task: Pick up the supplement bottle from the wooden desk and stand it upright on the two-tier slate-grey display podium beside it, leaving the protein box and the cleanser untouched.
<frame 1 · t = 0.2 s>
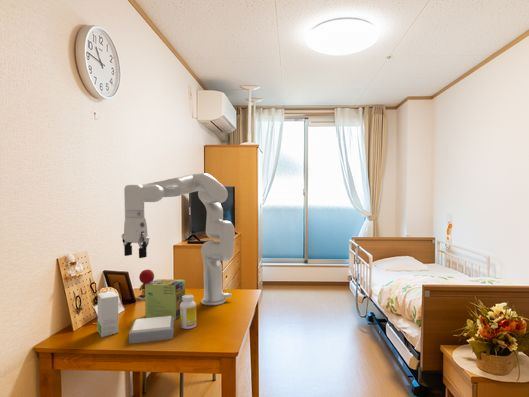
hand: (135, 256, 136), 31 cm above the table, tool pointing down, fingers open, 9 cm apart
figurine: (146, 297, 183), on the table
supplement bottle: (188, 326, 141), on the table
skincare box: (108, 332, 136), on the table
protein box: (166, 315, 155), on the table
display podium: (152, 333, 133), on the table
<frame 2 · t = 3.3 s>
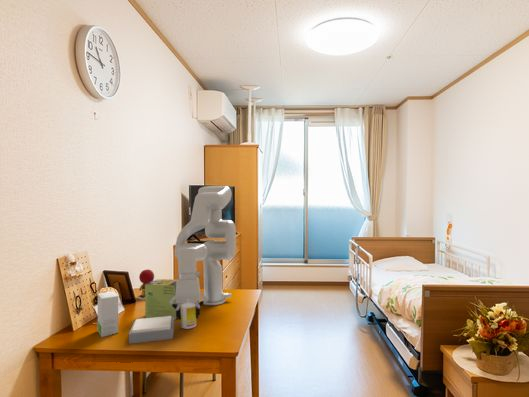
hand: (188, 317, 140), 4 cm above the table, tool pointing down, fingers closed on supplement bottle, 6 cm apart
supplement bottle: (188, 326, 141), on the table, touching gripper
everything else where it was.
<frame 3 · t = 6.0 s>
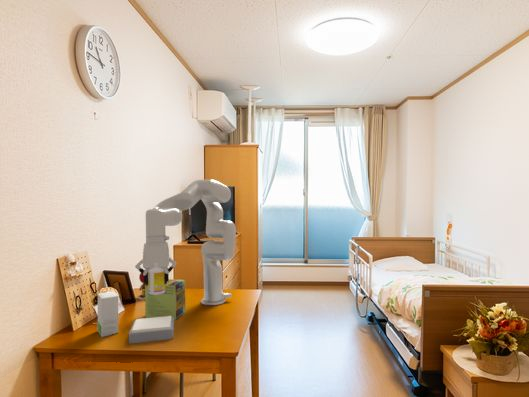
hand: (156, 283, 134), 20 cm above the table, tool pointing down, fingers closed on supplement bottle, 6 cm apart
supplement bottle: (156, 293, 134), point 16 cm above the table, touching gripper
everything else where it was.
when the fingers open (9 cm above the table, at t = 8.6 s): supplement bottle drops 1 cm, resting on display podium.
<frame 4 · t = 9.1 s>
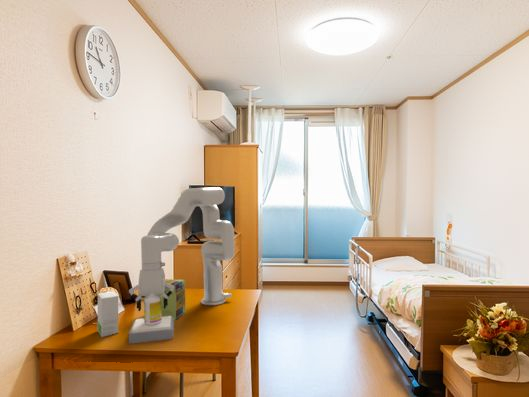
hand: (152, 308, 133), 10 cm above the table, tool pointing down, fingers open, 9 cm apart
supplement bottle: (153, 323, 133), point 4 cm above the table, touching display podium
everything else where it was.
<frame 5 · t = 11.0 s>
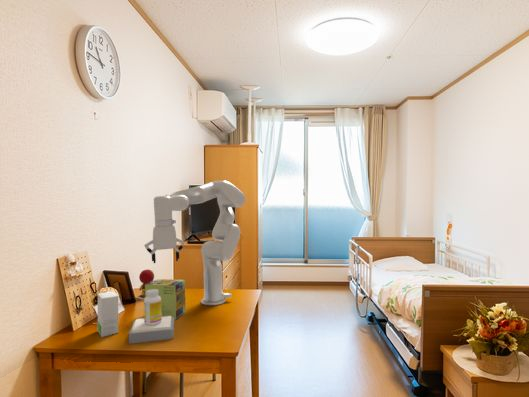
hand: (165, 261, 149), 26 cm above the table, tool pointing down, fingers open, 9 cm apart
nothing on the table moved.
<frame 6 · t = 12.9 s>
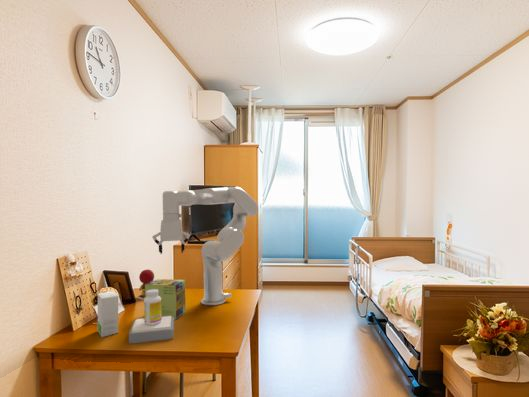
hand: (171, 252, 158), 28 cm above the table, tool pointing down, fingers open, 9 cm apart
nothing on the table moved.
at the end: supplement bottle inside the target area on the display podium (0.1 cm from its centre), point 4.3 cm above the display podium's base; supplement bottle tilted 0°; the gripper is holding nothing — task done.
